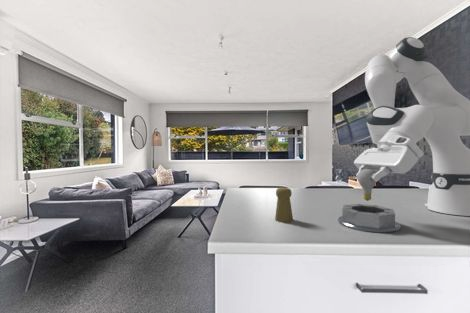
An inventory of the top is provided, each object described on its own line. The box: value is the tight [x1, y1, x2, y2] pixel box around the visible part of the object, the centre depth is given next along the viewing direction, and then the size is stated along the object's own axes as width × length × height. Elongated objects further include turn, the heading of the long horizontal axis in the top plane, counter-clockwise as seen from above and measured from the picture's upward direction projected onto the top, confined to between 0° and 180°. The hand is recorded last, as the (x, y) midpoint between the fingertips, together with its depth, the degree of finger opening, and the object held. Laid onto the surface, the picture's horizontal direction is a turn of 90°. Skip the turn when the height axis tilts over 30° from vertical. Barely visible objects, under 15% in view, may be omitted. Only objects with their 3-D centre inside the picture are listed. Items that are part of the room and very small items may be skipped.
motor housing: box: [337, 203, 401, 234], centre depth 74 cm, size 17×17×5 cm
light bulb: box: [356, 169, 377, 201], centre depth 73 cm, size 6×6×10 cm
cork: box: [274, 187, 294, 224], centre depth 79 cm, size 6×6×11 cm
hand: (365, 178), depth 73 cm, fingers closed on light bulb, 5 cm apart
